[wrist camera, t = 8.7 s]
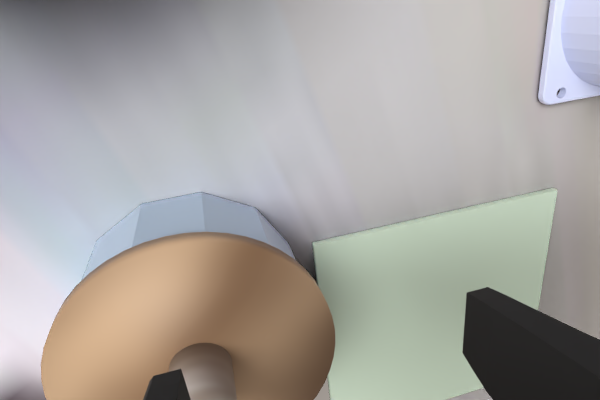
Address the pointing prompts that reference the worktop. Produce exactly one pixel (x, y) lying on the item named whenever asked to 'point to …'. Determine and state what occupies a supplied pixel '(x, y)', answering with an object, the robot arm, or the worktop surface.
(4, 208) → the worktop surface
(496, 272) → the mat
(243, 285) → the lid
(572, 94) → the robot arm
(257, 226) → the bowl
